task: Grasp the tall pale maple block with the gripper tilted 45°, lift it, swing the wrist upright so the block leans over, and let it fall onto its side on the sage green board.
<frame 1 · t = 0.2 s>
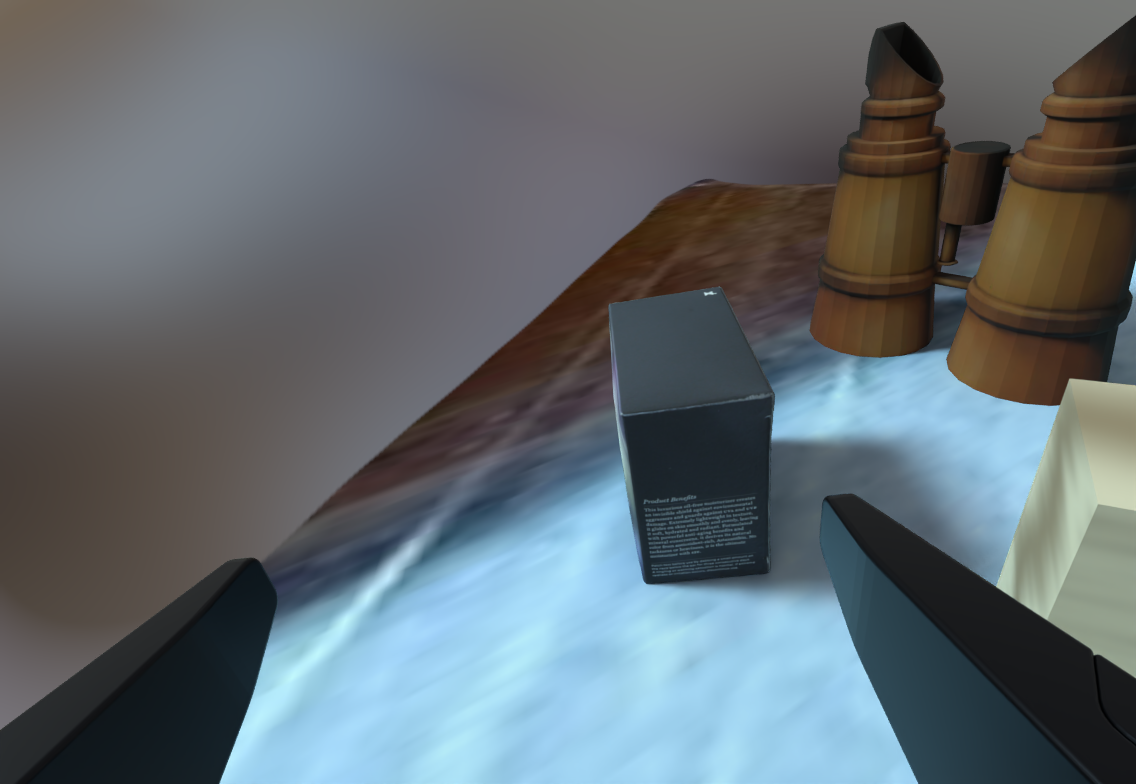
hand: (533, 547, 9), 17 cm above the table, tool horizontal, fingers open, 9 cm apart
binoculars: (938, 350, 42), on the table
small box: (688, 507, 33), on the table
maple block: (1072, 731, 21), on the table
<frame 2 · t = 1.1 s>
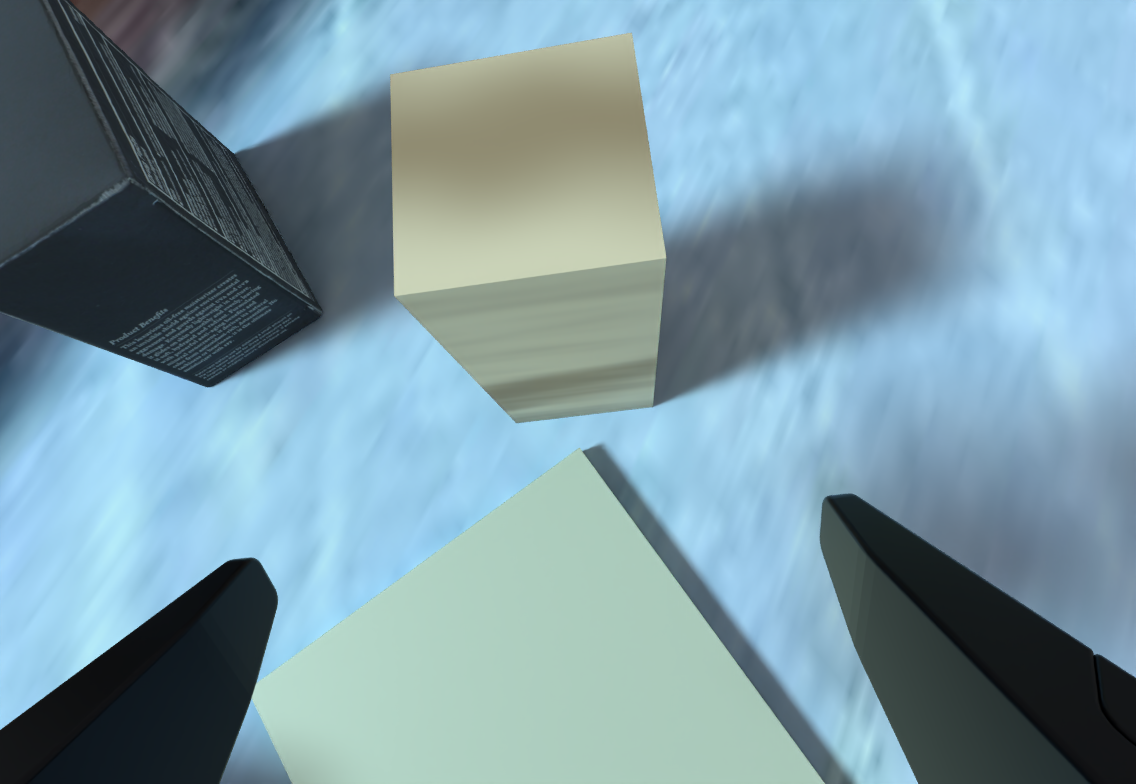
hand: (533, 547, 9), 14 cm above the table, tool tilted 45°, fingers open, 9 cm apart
small box: (223, 269, 28), on the table
maple block: (577, 350, 25), on the table
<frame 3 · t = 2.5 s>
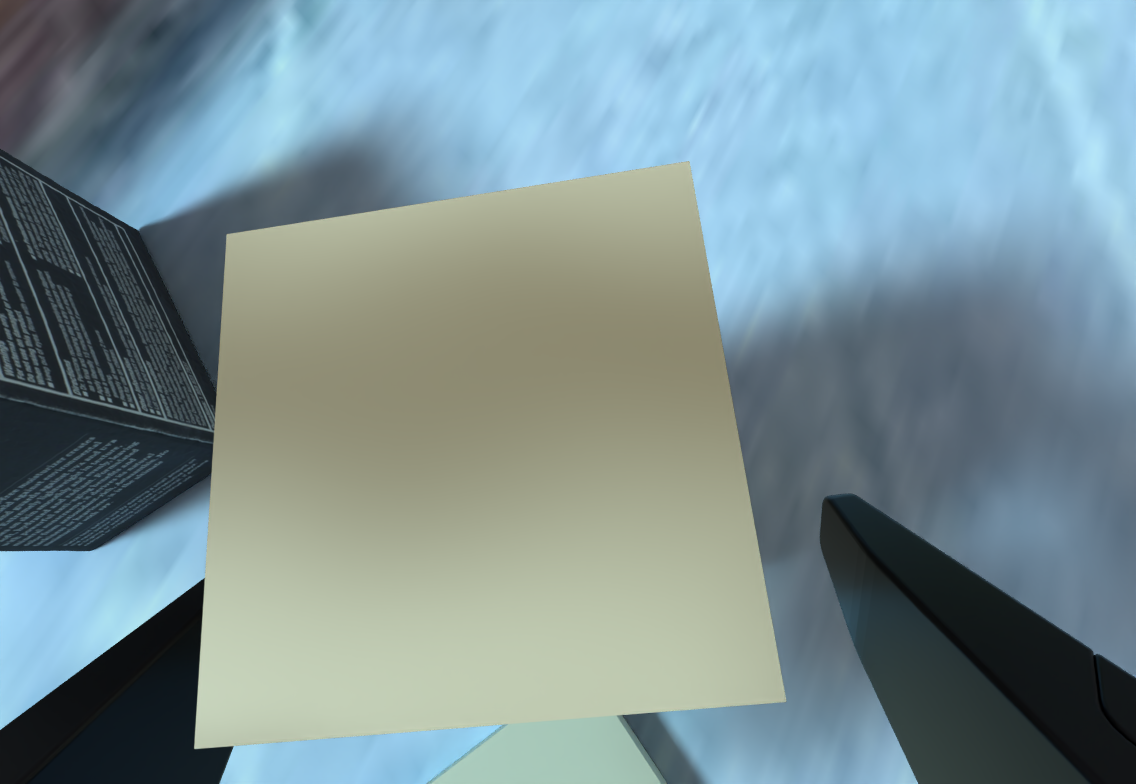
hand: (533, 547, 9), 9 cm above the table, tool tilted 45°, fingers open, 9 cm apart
small box: (118, 383, 21), on the table
maple block: (579, 511, 18), on the table
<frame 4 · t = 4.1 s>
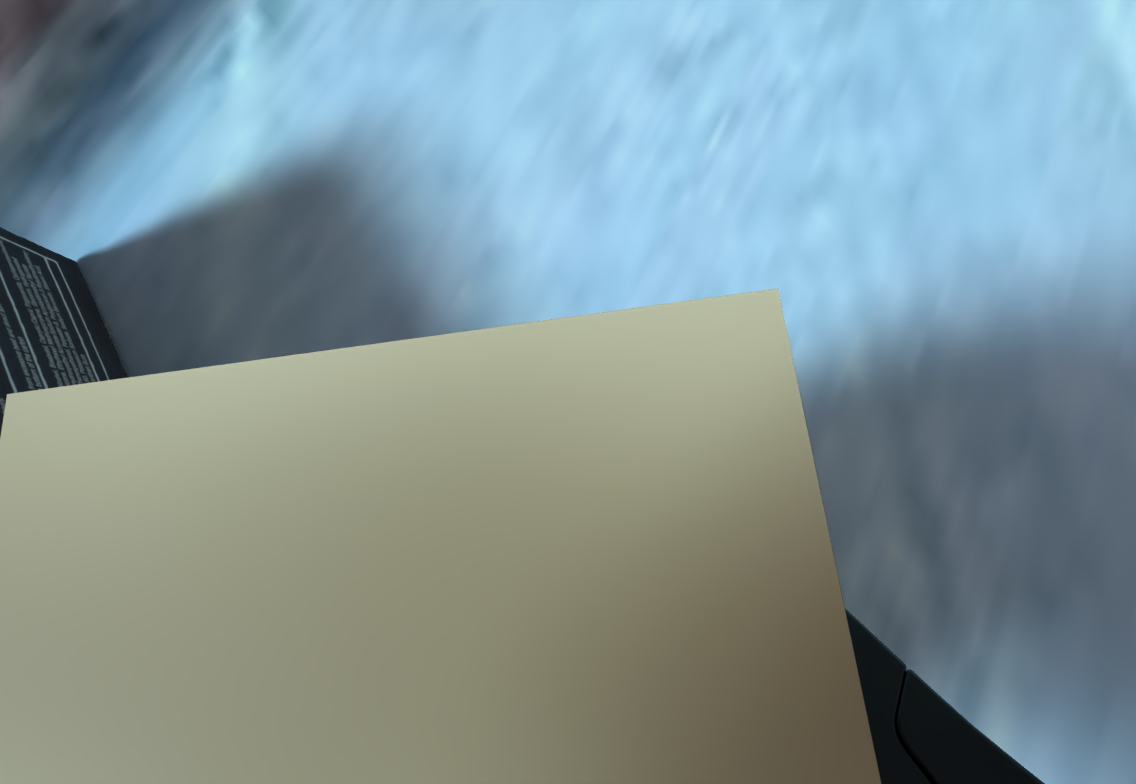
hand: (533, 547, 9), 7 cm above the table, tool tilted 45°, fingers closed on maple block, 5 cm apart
small box: (51, 440, 19), on the table
maple block: (581, 603, 15), on the table, touching gripper
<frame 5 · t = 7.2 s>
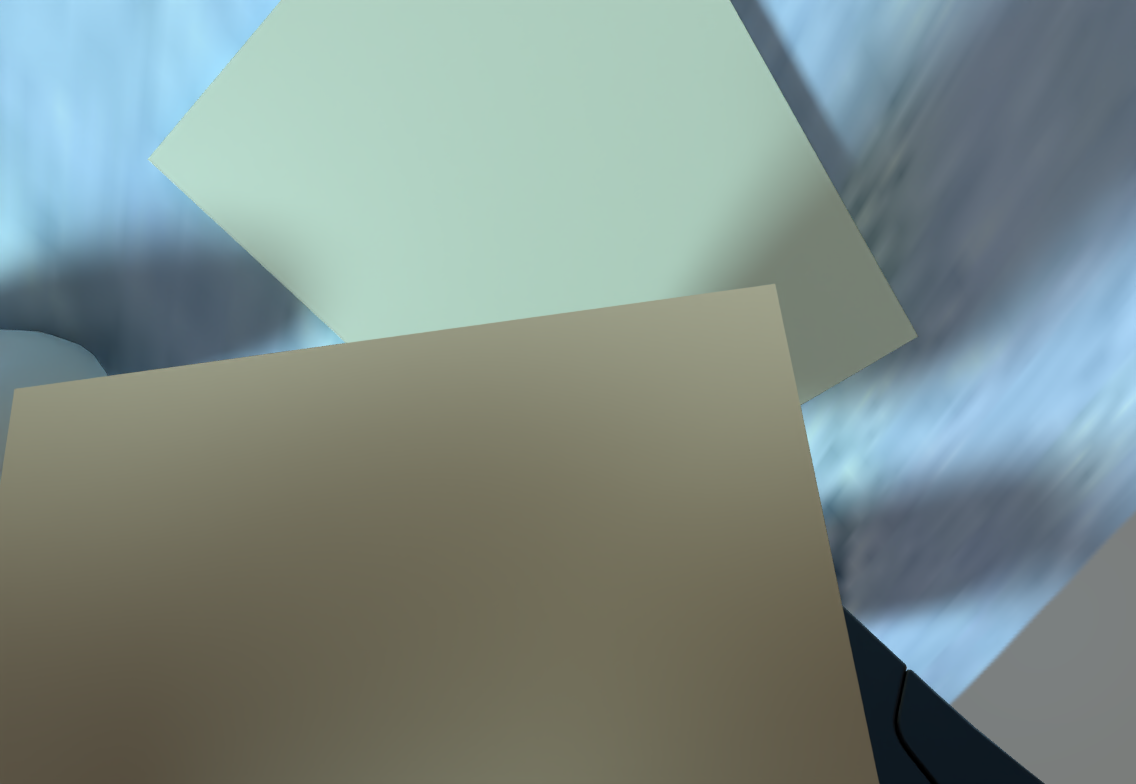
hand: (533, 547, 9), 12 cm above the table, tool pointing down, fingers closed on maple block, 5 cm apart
sage board: (559, 246, 19), on the table
donut: (43, 352, 21), on the table
maple block: (581, 601, 15), point 8 cm above the table, tilted 45°, touching gripper
when the fingers open (8 cm above the table, at t = 9.3 s): maple block moves 2 cm and tips over, resting on sage board.
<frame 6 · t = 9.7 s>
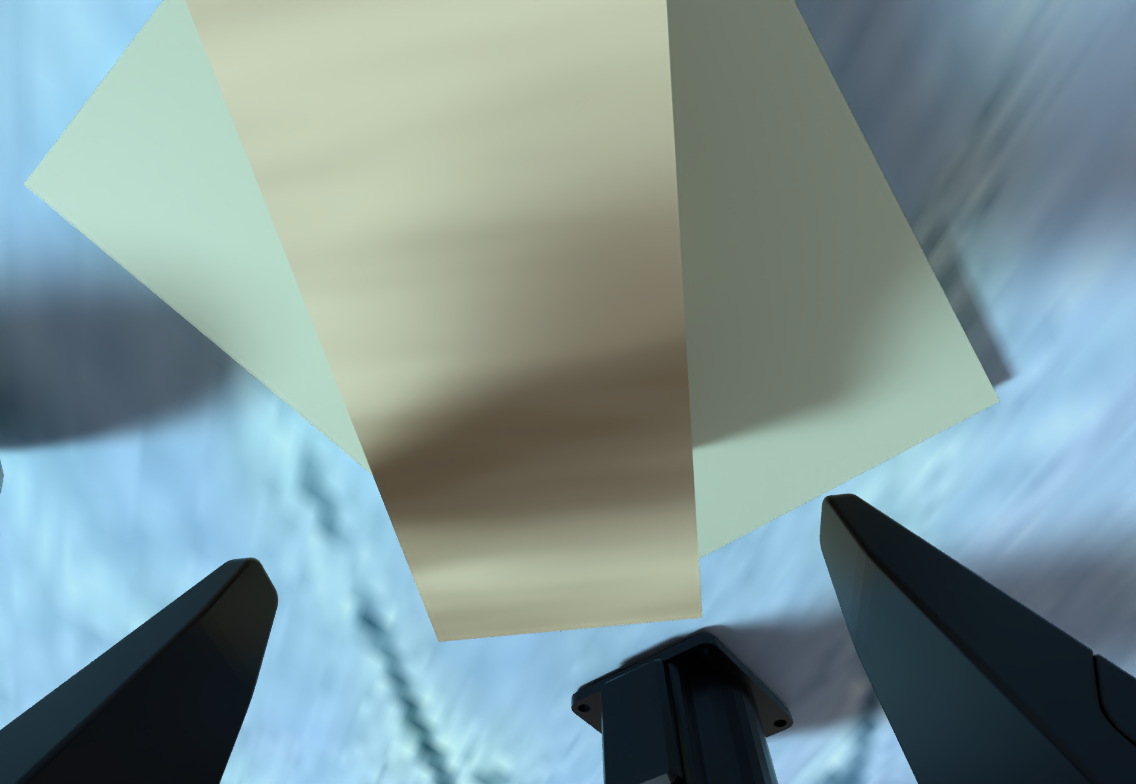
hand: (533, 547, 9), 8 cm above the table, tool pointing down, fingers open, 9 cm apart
sage board: (555, 290, 15), on the table
maple block: (569, 535, 15), point 4 cm above the table, tilted 90°, touching sage board
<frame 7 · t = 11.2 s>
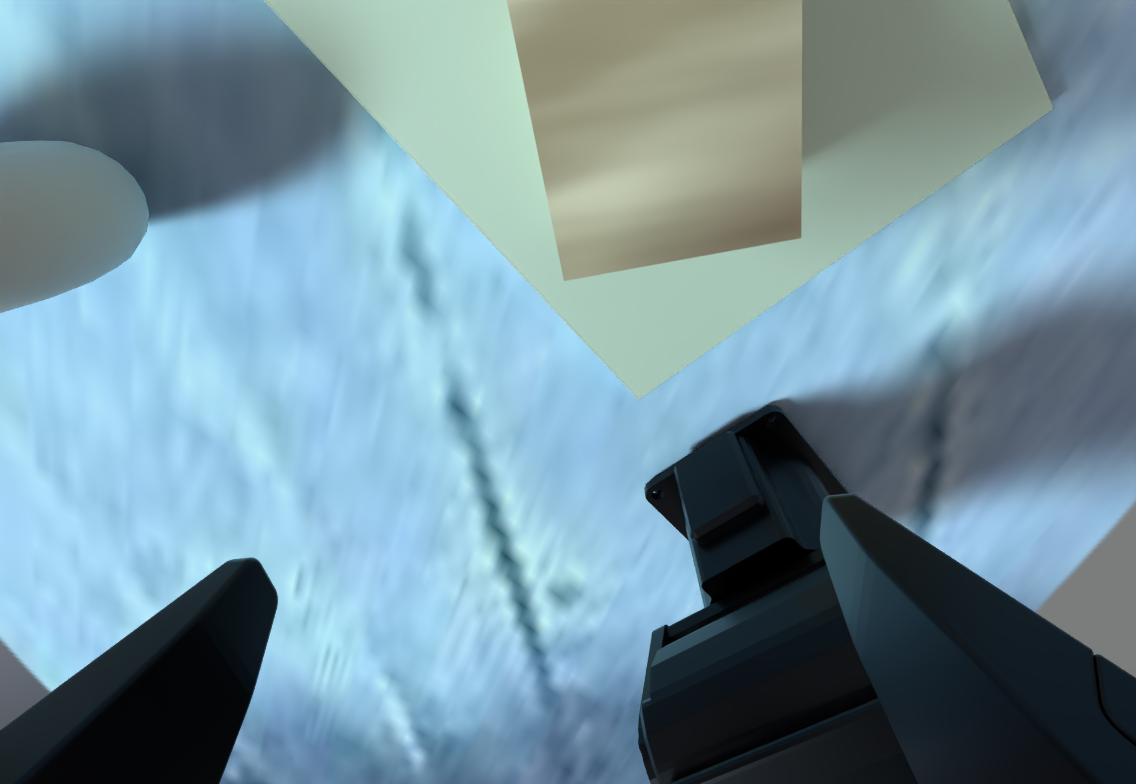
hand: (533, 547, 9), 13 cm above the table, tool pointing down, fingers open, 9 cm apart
sage board: (641, 16, 17), on the table
donut: (67, 187, 20), on the table
maple block: (664, 228, 16), point 4 cm above the table, tilted 90°, touching sage board
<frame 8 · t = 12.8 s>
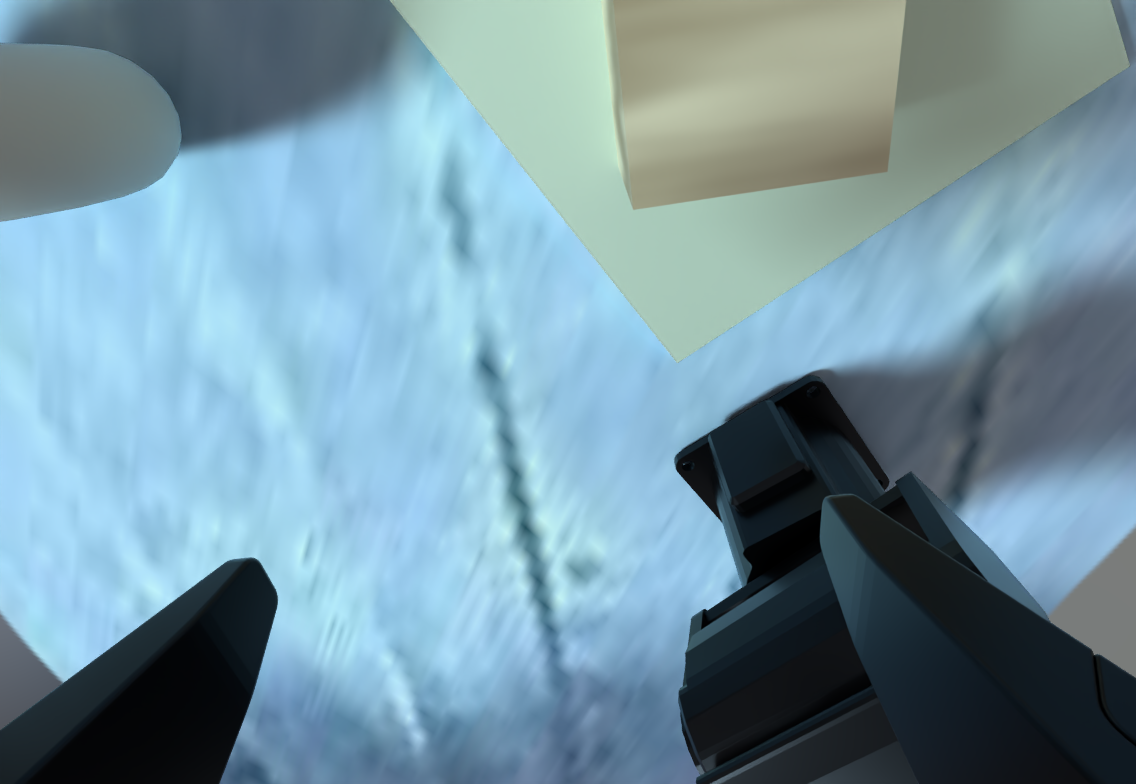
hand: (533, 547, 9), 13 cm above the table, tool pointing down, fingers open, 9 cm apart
donut: (91, 110, 18), on the table
maple block: (730, 169, 16), point 4 cm above the table, tilted 90°, touching sage board
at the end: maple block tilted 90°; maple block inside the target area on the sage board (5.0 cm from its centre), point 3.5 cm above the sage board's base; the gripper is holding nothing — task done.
